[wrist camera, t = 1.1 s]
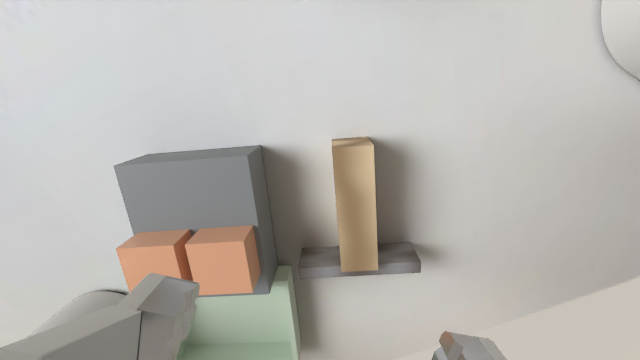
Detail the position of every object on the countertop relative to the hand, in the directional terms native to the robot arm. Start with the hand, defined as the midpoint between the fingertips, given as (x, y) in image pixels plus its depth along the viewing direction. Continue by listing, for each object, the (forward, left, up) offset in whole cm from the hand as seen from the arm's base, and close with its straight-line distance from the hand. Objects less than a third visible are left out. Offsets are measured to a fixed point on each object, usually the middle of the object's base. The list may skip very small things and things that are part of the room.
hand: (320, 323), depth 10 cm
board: (+13, +4, -22) cm, 25 cm away
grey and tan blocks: (-2, +3, -22) cm, 22 cm away
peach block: (+10, +6, -17) cm, 20 cm away
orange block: (+16, +6, -17) cm, 24 cm away
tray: (+13, +17, -22) cm, 30 cm away
